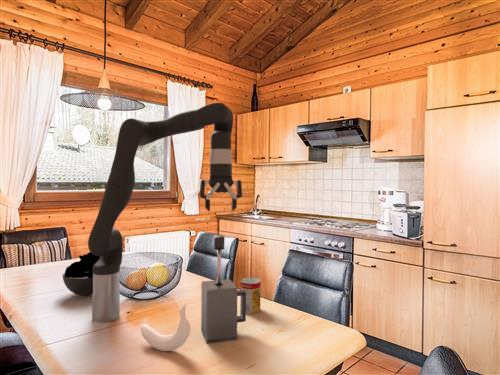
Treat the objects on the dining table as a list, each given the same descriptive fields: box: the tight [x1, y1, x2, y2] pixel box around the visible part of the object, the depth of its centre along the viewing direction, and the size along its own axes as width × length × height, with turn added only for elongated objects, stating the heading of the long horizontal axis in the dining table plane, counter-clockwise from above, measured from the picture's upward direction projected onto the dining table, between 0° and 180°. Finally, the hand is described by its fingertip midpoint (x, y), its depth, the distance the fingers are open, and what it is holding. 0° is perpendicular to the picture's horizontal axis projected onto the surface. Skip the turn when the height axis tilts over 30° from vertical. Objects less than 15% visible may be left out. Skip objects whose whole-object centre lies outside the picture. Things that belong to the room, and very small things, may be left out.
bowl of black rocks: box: [62, 251, 101, 297], centre depth 156 cm, size 20×20×19 cm
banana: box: [140, 303, 191, 352], centre depth 107 cm, size 5×19×15 cm, turn 67°
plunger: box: [213, 235, 225, 286], centre depth 117 cm, size 3×3×18 cm
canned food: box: [240, 277, 262, 315], centre depth 140 cm, size 8×8×12 cm
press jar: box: [200, 279, 247, 344], centre depth 118 cm, size 14×10×17 cm
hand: (221, 210), depth 120 cm, fingers open, 8 cm apart
